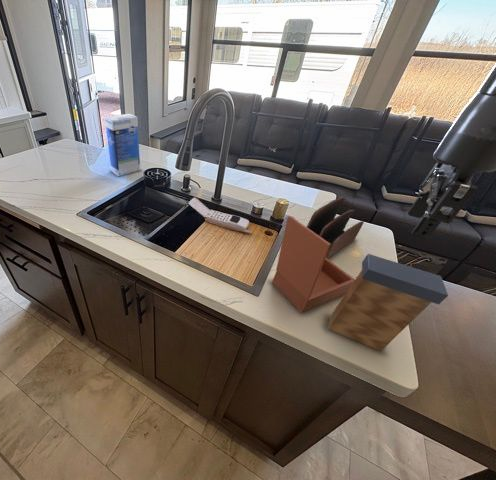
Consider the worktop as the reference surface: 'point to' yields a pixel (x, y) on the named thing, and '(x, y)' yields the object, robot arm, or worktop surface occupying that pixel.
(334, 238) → the letter holder
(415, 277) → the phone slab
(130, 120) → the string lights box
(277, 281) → the case
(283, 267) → the cover
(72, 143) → the worktop surface
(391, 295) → the wooden block
